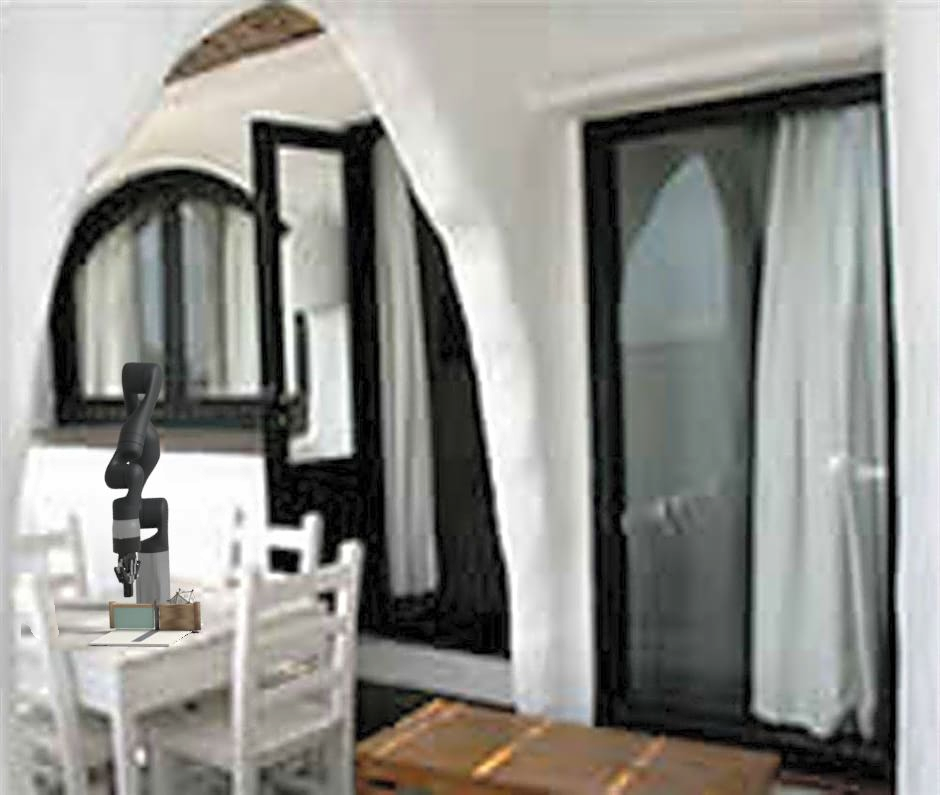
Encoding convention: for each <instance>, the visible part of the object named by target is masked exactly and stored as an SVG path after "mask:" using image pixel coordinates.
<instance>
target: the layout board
mask: <svg viewBox="0 0 940 795" xmlns="http://www.w3.org/2000/svg"><path fill="white" fill-rule="evenodd" d="M201 625H203V626H204V623H203V622H201ZM159 627H160V622H159ZM191 631H193V632H198V630H160V629H159V630H155V628H153V629H130V628H115V629H114V630H112V631H110V632H108V633H106V634H104V635H102V636H101V637H99V638H96V639H95V640H93V641H91V642H89V643H88V646H89V645H107V646H106V647H171V646H172V645H174V644H175V643H177V642H179V641H180V640H182V639H183V638H185V637H186V636H185V635H186V634H188V633H189V632H191ZM191 633H192V632H191ZM188 635H189V634H188ZM184 636H185V637H184ZM182 637H183V638H182ZM181 638H182V639H181ZM179 639H180V640H179ZM178 640H179V641H178ZM176 641H177V642H176ZM173 643H174V644H173Z"/></svg>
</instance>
